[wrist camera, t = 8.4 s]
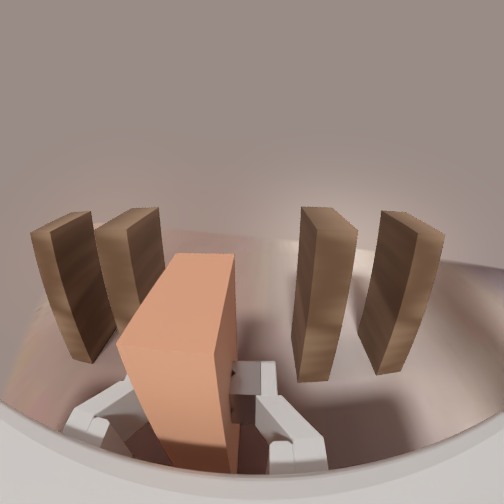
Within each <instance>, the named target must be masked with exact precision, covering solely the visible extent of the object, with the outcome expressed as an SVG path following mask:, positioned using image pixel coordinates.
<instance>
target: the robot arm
mask: <svg viewBox="0 0 504 504" xmlns="http://www.w3.org/2000/svg"><path fill="white" fill-rule="evenodd" d="M229 400H230V407H231V421H232V423H234V424H253V425H255V426H256V427H257V429H258V430H259V432H260V433H261V435H262V436H263V437H264V439H265V440H266V442H267V443H268V444H269V453H268V461H267V468H266V475H250V474H227V473H215V472H205V471H197V470H190V469H183V468H177V467H171V466H166V465H161V464H156V463H151V462H147V461H143V460H139V459H135V458H132V456H133V455H132V453H131V451H130V450H129V449H128V447H127V446H126V445H125V444H124V442H125V441H126V440H128V439H129V438H130V437H131V436H132V435H133V434H134V433H136V432H137V431H138V430H139V429H140V428H141V427H142V426H143V425H145V424H146V423H147V422H148V421H149V420H148V418H147V416H146V414H145V412H144V410H143V408H142V406H141V404H140V402H139V400H138V397H137V395H136V393H135V391H134V388H133V386H132V384H131V381H130V379H129V377H128V374H127V375H126V377H125V379H124V381H119V382H117V383H116V384H114V385H112V386H111V387H109V388H107V389H106V390H104V391H102V392H101V393H99V394H97V395H96V396H94V397H92V398H91V399H89V400H87V401H86V402H84V403H82V404H80V405H79V406H77V407H75V408H74V410H73V411H72V413H71V415H70V417H69V419H68V421H67V422H66V424H65V426H64V428H63V430H62V432H59V431H57V430H54V429H52V428H50V427H48V426H46V425H44V424H42V423H40V422H38V421H36V420H34V419H33V418H31V417H29V416H27V415H25V414H24V413H22V412H20V411H18V410H17V409H15V408H13V407H12V406H10V405H8V404H7V403H5V402H4V401H2V400H1V399H0V504H504V411H502V412H499V413H497V414H495V415H493V416H491V417H490V418H488V419H486V420H484V421H482V422H480V423H478V424H476V425H475V426H473V427H470V428H468V429H466V430H464V431H462V432H460V433H458V434H455V435H453V436H451V437H449V438H446V439H444V440H441V441H439V442H436V443H434V444H431V445H428V446H426V447H423V448H420V449H417V450H414V451H411V452H408V453H404V454H401V455H398V456H394V457H391V458H387V459H383V460H379V461H375V462H371V463H366V464H361V465H356V466H351V467H346V468H339V469H333V470H329V469H328V462H327V456H326V450H325V444H324V438H323V436H322V435H321V434H319V433H318V432H317V431H316V430H315V429H314V428H313V427H312V426H311V425H310V424H309V423H308V422H307V421H306V420H305V419H304V418H303V417H302V416H301V415H300V414H299V413H298V412H297V410H296V409H295V408H294V407H293V406H292V405H291V404H290V403H289V402H288V401H287V400H286V399H285V398H284V397H283V396H282V395H278V391H277V375H276V362H275V361H261V362H260V361H233V363H232V377H231V380H230V389H229Z"/></svg>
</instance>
